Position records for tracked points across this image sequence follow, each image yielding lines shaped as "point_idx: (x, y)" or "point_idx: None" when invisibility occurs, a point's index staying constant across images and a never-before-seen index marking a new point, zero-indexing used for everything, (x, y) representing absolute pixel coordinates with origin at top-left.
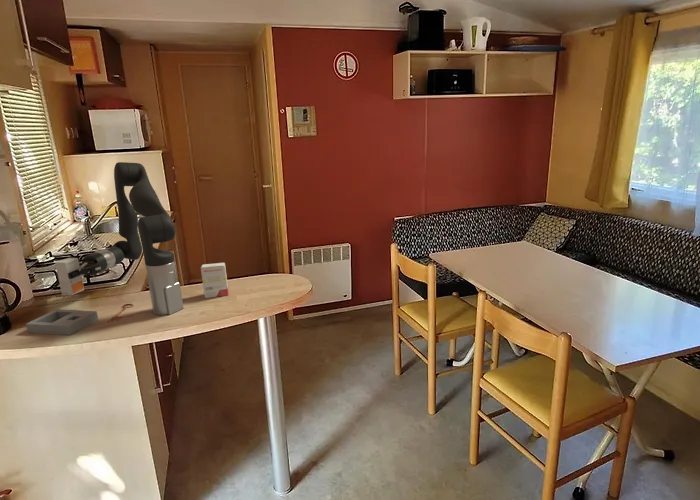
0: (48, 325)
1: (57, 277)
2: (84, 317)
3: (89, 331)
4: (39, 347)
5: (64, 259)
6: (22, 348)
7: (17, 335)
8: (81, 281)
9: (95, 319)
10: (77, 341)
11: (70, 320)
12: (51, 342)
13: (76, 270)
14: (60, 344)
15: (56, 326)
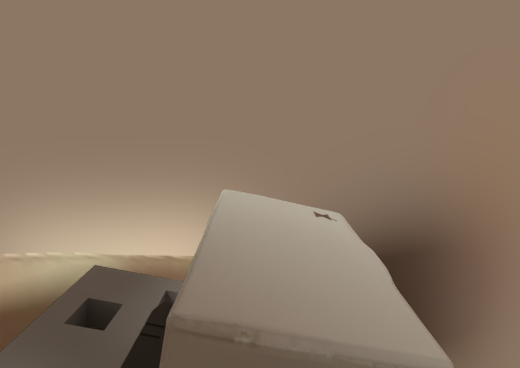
0: (168, 280)
1: None
2: (45, 313)
3: (26, 305)
4: (153, 255)
5: (377, 273)
6: (191, 257)
7: None
8: None
9: None
10: (60, 263)
11: (102, 296)
12: (135, 268)
13: (149, 362)
14: (105, 258)
15: (139, 276)
